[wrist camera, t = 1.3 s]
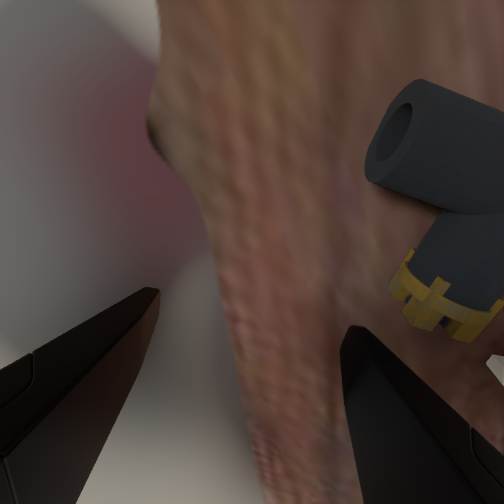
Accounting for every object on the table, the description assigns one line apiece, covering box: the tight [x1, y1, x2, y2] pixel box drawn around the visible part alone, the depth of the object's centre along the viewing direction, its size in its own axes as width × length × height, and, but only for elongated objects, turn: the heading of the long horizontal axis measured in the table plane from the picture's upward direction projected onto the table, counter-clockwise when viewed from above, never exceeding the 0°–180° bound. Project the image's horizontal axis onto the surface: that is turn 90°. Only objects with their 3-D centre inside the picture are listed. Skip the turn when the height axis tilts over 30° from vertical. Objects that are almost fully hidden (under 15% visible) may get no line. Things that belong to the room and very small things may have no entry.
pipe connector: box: [365, 79, 504, 344], centre depth 18 cm, size 12×5×15 cm
